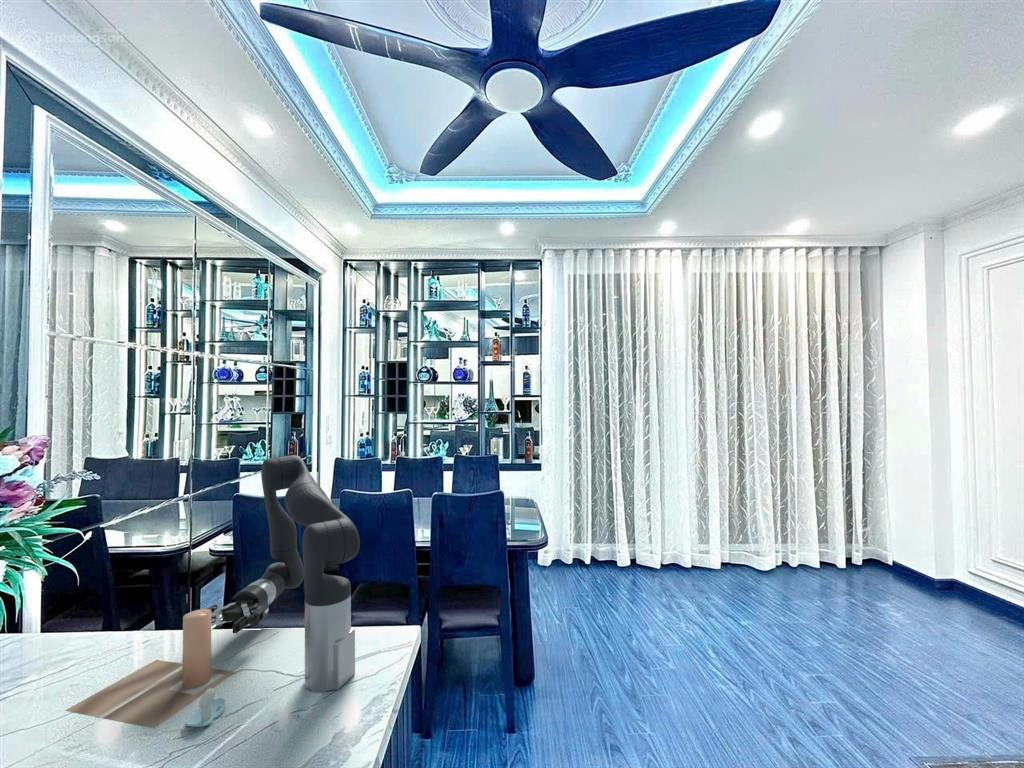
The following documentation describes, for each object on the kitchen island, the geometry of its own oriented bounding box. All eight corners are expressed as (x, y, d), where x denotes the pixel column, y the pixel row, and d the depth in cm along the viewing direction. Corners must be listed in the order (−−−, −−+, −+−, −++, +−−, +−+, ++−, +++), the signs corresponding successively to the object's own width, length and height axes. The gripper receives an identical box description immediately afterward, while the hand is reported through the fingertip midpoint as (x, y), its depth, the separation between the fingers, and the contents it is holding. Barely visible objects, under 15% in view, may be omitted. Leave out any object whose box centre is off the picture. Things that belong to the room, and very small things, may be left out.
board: (235, 674, 101) (235, 671, 102) (153, 731, 84) (154, 728, 84) (156, 662, 107) (156, 659, 107) (64, 713, 89) (64, 710, 89)
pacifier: (170, 737, 83) (201, 738, 82) (169, 701, 83) (200, 702, 83) (201, 710, 90) (230, 710, 90) (201, 677, 91) (229, 677, 90)
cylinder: (216, 676, 100) (217, 610, 100) (195, 690, 95) (196, 620, 95) (197, 673, 101) (198, 608, 102) (175, 687, 96) (177, 618, 97)
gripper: (226, 584, 121) (183, 613, 104) (281, 583, 121) (247, 611, 105) (226, 614, 120) (182, 647, 104) (281, 613, 120) (247, 646, 104)
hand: (215, 629), depth 104 cm, fingers open, 8 cm apart
